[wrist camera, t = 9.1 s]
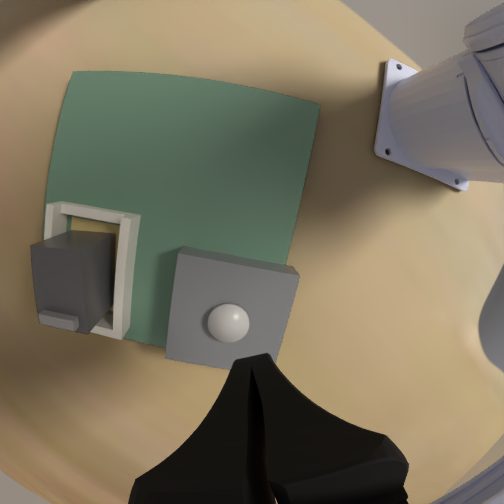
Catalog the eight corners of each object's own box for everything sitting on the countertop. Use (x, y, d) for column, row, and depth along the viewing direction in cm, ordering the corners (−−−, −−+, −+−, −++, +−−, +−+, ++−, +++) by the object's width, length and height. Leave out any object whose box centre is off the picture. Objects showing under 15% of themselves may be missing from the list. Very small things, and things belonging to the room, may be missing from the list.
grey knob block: (293, 266, 19) (301, 278, 17) (268, 358, 21) (272, 379, 18) (183, 245, 18) (176, 255, 16) (170, 342, 20) (163, 362, 17)
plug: (115, 233, 18) (75, 253, 12) (116, 300, 19) (83, 339, 13) (71, 229, 17) (24, 247, 12) (74, 294, 18) (34, 328, 13)
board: (316, 108, 18) (330, 96, 15) (258, 356, 22) (262, 379, 19) (78, 75, 16) (59, 63, 13) (49, 309, 20) (31, 325, 17)
